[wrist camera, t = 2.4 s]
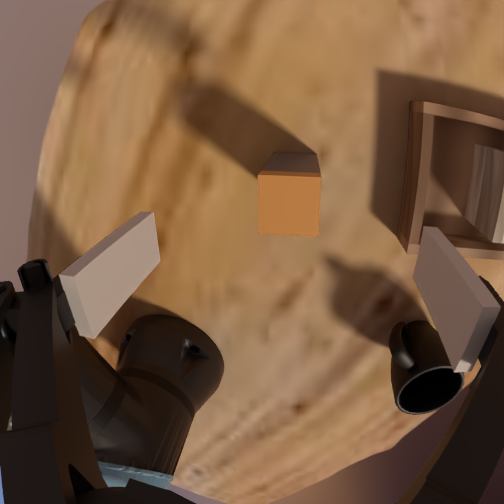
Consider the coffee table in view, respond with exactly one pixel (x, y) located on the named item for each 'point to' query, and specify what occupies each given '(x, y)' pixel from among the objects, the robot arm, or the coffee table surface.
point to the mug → (421, 369)
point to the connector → (289, 195)
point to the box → (454, 180)
